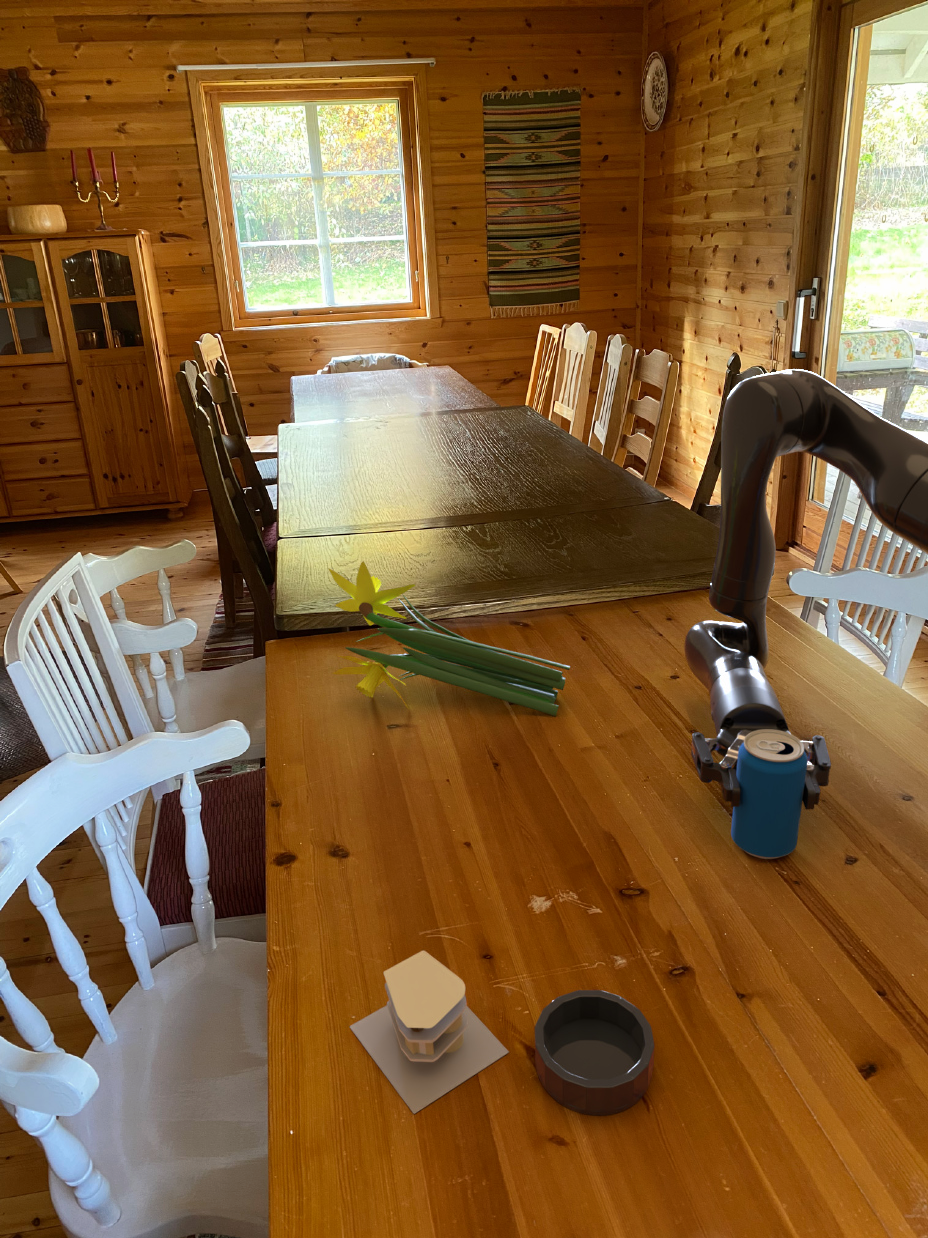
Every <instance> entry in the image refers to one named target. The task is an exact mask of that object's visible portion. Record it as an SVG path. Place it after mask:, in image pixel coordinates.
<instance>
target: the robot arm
mask: <svg viewBox="0 0 928 1238" xmlns="http://www.w3.org/2000/svg"><path fill="white" fill-rule="evenodd" d="M720 444H721V450H720V451H721V457H720V458H721V459H720V462H721V463H720V519H719V520H720V522H719V535H718V542H717V548H716V555H715V559H714V564H713V570H712V576H711V580H710V585H709V592H708V600H709V604H710V606H711V607H712V608H713V610H715V611H716V612H717V613H719V614H721V615H723V616H726V617H729V618H732V619H735V620H738V621H740V622H728V621H718V620H703V621H699V622H696V623H695V624H693V626H692V627H690V629H689V630H688V632H687V633H686V635H685V639H684V647H683V648H684V656H685V660H686V663H687V665H688V668H689V669H690V671H691V672H692V674H693V675H694V677H695V678H696V679H697V680H698V681H699V682H700V683H701V684H702V686H704V687H705V688H706V690H707V691H708V693H709V698H710V701H709V702H710V711H711V713H710V715H711V720H712V722H713V724H714V728H715V733H716V738H705V735H704V734H703V733H702V732H694V733H692V735H691V736H692V737H691V749H690V750H691V751H690V756H691V757H692V761H693V763H694V766H695V769H696V772H697V775H698V777H699V780H700V781H701V782H702V783H705V784H708V783H709V784H710V783H711V782H713V781H715V782H717V783H718V785H719V786H720V790H721V795H722V799H723V800H724V801H725V803H727V802H729V803H730V807H732V808H733V807H739V803H740V786H739V782H738V779H737V776H736V772H737V761H738V751H739V748H740V746H741V744H742V743H743V742H744V738H745V737H746V736H747V735H748V734H749V733H751V732H753V731H757V730H763V729H772V730H779V731H783V732H787V733H789V734H792V733H791V731H790V729H789V725H788V722H787V720H786V716H785V714H784V711H783V709H782V705H781V704H780V701H779V699H778V697H777V693H776V691H775V689H774V687H773V686H772V685H771V684H770V681H769V679H768V676H767V672H766V671H765V669H766V668H767V666H768V663H769V659H770V645H769V637H768V631H767V602H768V597H769V596H768V595H769V593H770V592H769V591H770V587H771V584H772V578H773V574H774V571H775V564H776V555H777V550H776V549H777V546H776V540H775V539H776V538H775V534H774V531H773V528H772V525H771V522H770V518H769V514H768V511H767V509H768V508H767V503H766V502H767V499H766V495H767V487H768V482H769V480H770V476H771V472H772V469H773V466H774V465H775V461H776V459H777V458H778V457H783V456H785V455H789V454H793V453H797V452H799V453H805V454H808V455H810V456H813V457H815V458H817V459H819V460H821V461H823V462H825V463H826V464H829V465H830V466H832V467H834V468H836V469H837V470H839V471H841V472H842V473H843V474H845V475H846V476H847V477H848V478H849V479H851V480H852V481H853V483H854V484H855V486H856V487H857V488H858V491H859V492H860V494H861V496H862V498H863V500H864V501H865V503H866V505H867V507H868V508H869V510H870V512H871V513H872V514H873V515H874V517H875V519H876V520H877V521H878V522H879V523H880V524H881V525H882V526H883V527H884V528H885V529H887V530H888V531H890V532H891V533H893V534H894V535H896V536H897V537H899V538H900V539H902V540H903V541H905V542H906V543H908V544H910V545H911V546H913V547H915V548H916V549H917V550H918V551H921V552H922V553H924V554H926V555H928V441H927V440H925V439H924V438H921V437H919V436H918V435H915V434H914V433H912V432H910V431H909V430H906V429H904V428H902V427H900V426H898V425H896V424H894V423H892V422H890V421H888V420H887V419H884V418H882V417H881V416H879V415H878V414H876V413H874V412H873V411H871V410H870V409H868V408H867V407H865V406H863V404H861V403H859V402H858V401H857V400H856V399H854V398H852V397H851V396H849V395H848V394H847V393H846V392H844V391H843V390H841V389H840V388H838V387H837V386H836V385H834V384H833V383H831V382H830V381H828V380H826V379H825V378H823V377H822V376H820V375H818V374H817V373H814V372H812V371H808V370H804V369H799V368H798V369H797V368H796V369H795V368H793V369H785V370H781V371H776V372H771V373H765V374H760V375H756V376H752V377H749V378H745V379H744V380H742V381H740V382H738V384H736V385H735V386H734V387H733V388H732V390H730V392H729V395H728V396H727V398H726V400H725V404H724V408H723V413H722V422H721V443H720ZM800 741H801V742H802V743H803V745H804V751H805V753H806V755H807V769H806V777H805V785H804V792H803V800H802V805H803V806H804V808H805V809H804V810H811V811H812V810H814V809H815V806H816V805H817V806H818V805H819V803H820V797H821V787H822V788H823V787H827V786H829V784H830V783H829V782H830V779H829V778H830V772H831V767H832V761H831V757H830V754H829V751H828V747H827V746H828V745H827V743H826V739H825V736H822V735H819V734H818V735H817V734H816V735H813V736H812V738H811V741H810V740H809V741H808V740H800ZM715 751H716V753H718V755H720V756H721V757H723V758H722V760H721V761H720V762H714V758H713V752H715Z"/></svg>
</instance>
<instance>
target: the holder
mask: <svg viewBox="0 0 928 1238" xmlns="http://www.w3.org/2000/svg"><path fill="white" fill-rule="evenodd" d="M653 1034H654V1033H653V1028H652V1026H651V1024H650V1022H649V1021H648V1020H647V1018H646V1017H645V1015H644V1014H643V1012H642V1011H641V1009H639V1008H638V1007H636V1006H635V1005H634V1004H632V1003H631V1002H630V1001H629V1000H627V999H625V998H624V997H622V996H620V995H617V994H614V993H611V992H608V991H605V990H601V989H578V990H575V991H572V992H568V993H565V994H562V995H559V996H557V997H555V999H553V1000H552V1001H551V1002H550V1003H548V1004H547V1005H546V1006H545V1007H544V1008H542V1010H541V1012H540V1014H539V1017H538V1019H537V1020H536V1023H535V1025H534V1058H535V1061H534V1062H535V1070H536V1074H537V1076H538V1077H537V1078H538V1079H539V1082H540V1084H541V1085H542V1087H543V1089H544V1090H545V1091H546V1092H547V1094H548V1095H549V1096H551V1098H552V1099H553V1100H554V1101H556V1102H557V1103H558V1104H560V1105H562V1106H563V1107H564V1108H567V1109H569V1110H570V1111H574V1112H576V1113H578V1114H579V1113H580V1114H584V1115H589V1116H599V1117H600V1116H609V1115H615V1114H618V1113H621V1112H623V1111H626V1110H628V1109H630V1108H632V1107H633V1106H634V1105H636V1104H637V1103H638V1102H639V1101H640V1100H641V1099H642V1098H643V1096H645V1094H646V1093H647V1091H648V1089H649V1086H650V1084H651V1082H652V1076H653V1072H654V1064H655V1063H654V1061H655V1047H656V1046H655V1039H654V1035H653Z"/></svg>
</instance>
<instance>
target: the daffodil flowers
mask: <svg viewBox="0 0 928 1238" xmlns="http://www.w3.org/2000/svg"><path fill="white" fill-rule="evenodd" d="M327 569H328V572H329V573H330V575H331V577H332V579H333V581H334V582H335V583H336V584H337V586H338V587H339V588H340V589H342V590H343V591H344V592H346V593H347V594H348V595H349V596H350V597H351V598H348V599H345V600H342V601H339V602H337V603H336V604H334V606H335V607H337V608H338V609H341V610H342V611H345V612H352V613H353V612H360V614H361V615H362V617H363V618H364V620H365V621H366V623H367V625H368V626H372V625H374V624H375V625H378V626H379V628H376V630H377V631H378V632H376V633H373V634H370V635H367V636H366V637H363V638H360V639H358V640H355V642H361V641H364V640H367V639H370V638H373V637H374V638H375V637H377V636H381V635H385V636H387V637H388V638H391V639H393V640H394V641H396V642H398V643H400V644H402V645H404V646H403V647H402V649H403V650H404V651H405V652H406V653H401V654H400V653H399V654H391V653H390V654H389V653H388V654H387V653H383V652H379V651H374V650H370V649H365V648H358V647H349V646H345V650H348V651H349V652H351V653H353V654H356V655H359V656H361V657H364V658H366V659H369V660H371V661H366V660H364V659H361V658H359V657H356V656H352V655H337V654H336V655H335V657H339V658H341V659H343V660H347V661H350V662H353V663H355V664H358V665H360V666H345V667H340V668H339V669H337V670H335V671H333V672H332V673H331V675H343V676H344V675H345V676H346V675H347V676H348V675H365V676H364V677H363V678H362V679H361V680H360V681H359V682H358V683H357V684H356V685H355V686H354V689H356V691H358V693H361V695H365V697H366V698H367V697H368V698H369V699H370V698H371V699H373V698H374V695H375V692H376V690H377V688H378V687H379V686H380V685H382V683H383V682H384V683H385V684H386V686H388V687H389V688H390V689H391V690H392V691H393V692H394V693H395V694H396V695H397V696H398V697H399V698H400V699H401V700H402V702H403V703H404V706H405V707H406V708H407V710H410V707H409V706H408V705H407V703H406V702H405V700H404V698H403V697H402V695H401V693H400V692H399V691H398V689H397V688H396V687H395V685H394V684H393V683H392V681H391V680H390V678H392V679H393V680H395V681H397V682H400V684H402V685H404V686H405V687H407V684H406V683H405V682H404V681H403V680H405V679H409V678H412V677H416V676H421V677H422V676H423V677H424V678H427V679H431V680H435V681H439V682H442V683H445V684H448V685H452V686H454V687H458V688H462V689H464V690H469V691H472V692H475V693H478V694H481V695H485V696H487V697H488V696H489V697H491V698H494V699H498V700H500V701H501V700H502V701H504V702H508V703H511V704H514V705H517V706H520V707H523V708H524V707H525V708H528V709H531V710H534V711H538V712H540V713H544V714H548V715H550V716H554V717H556V716H557V713H558V711H559V705H557V704H555V702H556V701H557V698H558V693H559V691H558V690H560V691H564V688H565V684H566V677H563V671H561V670H557V669H554V668H550V667H547V666H544V665H540V664H537V663H534V662H538V663H541V664H545V665H548V666H552V667H556V668H559V669H564V670H566V671H570V669H571V666H570V665H566V664H562V663H559V662H555V661H551V660H548V659H543V658H540V657H537V656H533V655H529V654H525V653H522V652H516V651H513V650H508V649H505V648H500V647H497V646H490V645H488V644H484V643H479V642H475V641H472V640H471V639H470V640H469V639H467V638H465V637H463V636H461V635H459V634H457V633H455V632H452V631H450V630H449V629H447V628H445V627H443V626H441V625H439V624H437V623H435V622H434V621H431V620H430V619H428V618H427V617H425V616H424V615H423V614H422V613H421V612H420V611H418V610H417V609H416V608H415V607H414V605H412V603H411V602H410V601H409V600H408V598H407V597H406V596H405V595H404V593H406V592H408V591H409V590H411V589H412V588H414V587H415V586H416V585H417V584H416V583H410V584H407V585H405V586H400V587H399V586H398V587H392V588H388V589H383V590H380V588H381V586H382V581H381V578H378V576H375V575H372V576H371V573H370V570H369V569H368V566H367V565H366V562H365V561H361V563H360V565H359V567H358V570H357V575H356V580H355V583H356V584H354V582H352V581H350V580H349V579H347V578H346V577H344V576H342V575H341V574H340V573H338V572H336V571H335V570H333V569H331V568H330V567H328V568H327ZM400 596H402V597H403V598H404V599H405V601H406V604H408V606H409V607H410V609H411V610H412V611H413V612H414V613H413V612H412V611H411V610H410V609H409V608H408V607H407V606H406V604H405V603H404V602H403V601H402V600H401V599H400V598H398V597H400ZM396 598H398V601H399V602H400V604H401V605H402V606H403V608H404V610H405V611H406V612H407V613H408V615H409V616H410V617H411V618H412V619H413V621H415V622H416V623H417V624H418V625H419V626H421V627H422V628H419V627H415V626H412V625H408V624H405V623H402V622H399V621H395V620H392V619H389V618H385V617H383V616H380V615H378V614H381V615H384V616H387V617H388V616H389V617H393V618H399V619H403V620H407V616H405V615H402V614H400V613H399V612H398V611H396V610H395V609H393V608H391V607H390V606H389V605H387V604H386V603H388V602H390V601H392V600H394V599H396ZM416 616H417V617H416ZM420 619H421V620H420ZM428 625H429V626H431V627H429V626H428ZM433 628H434V629H433ZM435 629H437V630H438V631H440V632H442V633H440V632H438V631H436V630H435ZM405 646H406V647H405ZM521 658H522V659H521ZM524 659H525V660H524ZM526 659H527V660H530V661H527V660H526ZM373 661H374V662H373ZM531 661H534V662H531ZM389 667H391V668H396V669H398V670H403V671H406V672H405V673H403V674H400V675H398V676H397V677H395V676H394V675H393V674H391V673H390V672H389V671H388V670H387V668H389ZM403 676H404V677H403ZM389 677H390V678H389ZM399 677H402V678H400V679H399Z"/></svg>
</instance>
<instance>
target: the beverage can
mask: <svg viewBox="0 0 928 1238" xmlns="http://www.w3.org/2000/svg"><path fill="white" fill-rule="evenodd" d="M801 741H802V740H801V739H799V738H798V737H797V736H795V735H793V734H792V733H791V734H789V733H787V732H783V731H779V730H772V729H763V730H757V731H753V732H751V733H749V734H748V735H747V736H746V737H745V738H744V742H743V743H742V744H741V746H740V748H739V751H738V761H737V772H736V776H737V779H738V782H739V786H740V803H739V807H732V817H731V827H730V828H731V829H730V836H731V838H732V841H733V842H734V844H735V845H736V846H737V847H738V848H739V849H740V850H742V851H743V852H745V853H746V854H748V855H750V856H751V857H752V856H753V857H754V858H758V859H764V860H773V859H778V858H782V857H785V856H787V855H789V854H791V853H793V852H794V851H795V849H796V847H797V845H798V837H799V831H800V822H801V815H802V806H803V801H802V800H803V792H804V785H805V777H806V769H807V755H806V753H805V751H804V745H803V743H802V742H801Z"/></svg>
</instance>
